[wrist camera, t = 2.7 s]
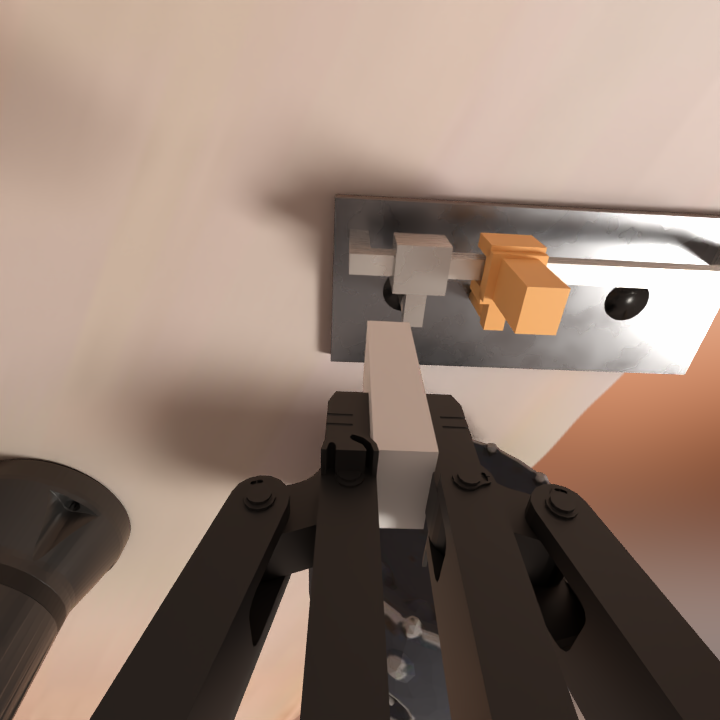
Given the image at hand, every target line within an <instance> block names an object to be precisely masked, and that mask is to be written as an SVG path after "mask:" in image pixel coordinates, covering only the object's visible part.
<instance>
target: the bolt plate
mask: <svg viewBox="0 0 720 720" xmlns="http://www.w3.org/2000/svg"><path fill="white" fill-rule="evenodd" d="M350 229H359V230H368V231H369V239H370V246H371V248H380V249H392V245H393V234H394V232H396V233H416V234H435V235H445V236H446V237H447V239H448V241H449V242H450V244H451V245H452V247H453V251H452V252H461V253H481V254H484V253H483V252H482V251H481V249H480V248H479V247H478V244H479V238H480V233H499V234H518V235H532V236H533V237H534V238H536V239H537V240H538V241H539V242H541V243H542V244H543V245H544V246H545V247H547V251H546V254H547V255H548V256H549V257H562V258H582V259H602V260H622V261H643V262H663V263H683V264H703V265H710V264H711V262H712V260H713V258H714V256H715V254H716V252H717V250H718V248H720V215H703V214H685V213H667V212H649V211H631V210H613V209H594V208H576V207H558V206H540V205H522V204H503V203H485V202H467V201H449V200H431V199H412V198H394V197H376V196H358V195H340V194H336V195H335V224H334V262H333V299H332V337H331V361H337V362H363V363H364V361H365V347H366V333H367V321H388V322H401V314H402V310H401V306H400V301H399V297H398V294H392V289H391V284H390V279H389V276H373V275H352V274H349V237H350ZM470 284H471V280H459V279H448V281H447V287H446V293H445V296H433V295H427V297H426V304H425V311H424V318H423V325H422V327H411V331H412V336H413V340H414V345H415V349H416V353H417V358H418V362H419V365H443V366H470V367H496V368H523V369H550V370H576V371H603V372H629V373H630V372H631V373H657V374H683V375H684V374H685V373H686V371H687V369H688V367H689V365H690V363H691V361H692V359H693V358H694V356H695V354H696V352H697V350H698V348H699V346H700V344H701V342H702V340H703V338H704V336H705V334H706V333H707V331H708V329H709V327H710V325H711V323H712V321H713V319H714V317H715V315H716V313H717V311H718V309H719V307H720V292H716V291H694V290H673V289H651V288H630V287H609V286H587V285H567V286H568V287H569V288H571V290H570V293H569V296H568V299H567V302H566V305H565V308H564V312H563V315H562V318H561V321H560V324H559V327H558V330H557V333H556V335H535V334H515V333H514V331H513V330H512V328H511V327H510V325H509V324H508V322H507V321H506V320H505V324H504V328H503V331H499V330H483V328H482V326H481V324H480V317H479V315H478V313H477V312H476V310H475V308H474V306H473V305H472V303H471V301H470V299H469V294H470V292H471V289H470Z"/></svg>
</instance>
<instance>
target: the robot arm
mask: <svg viewBox="0 0 720 720" xmlns="http://www.w3.org/2000/svg"><path fill="white" fill-rule="evenodd" d="M425 518H426V521H427V527H428V536H427V540H426V545H425V550H424V555H423V560H422V567H426V566H427V561H428V566H429V573H430V579H431V586H432V593H433V600H434V606H435V613H436V620H437V627H438V633H439V640H440V647H441V654H442V660H443V667H444V674H445V681H446V687H447V694H448V701H449V708H450V714H451V720H579V719H578V716H577V714H576V711H575V708H574V705H573V702H572V699H571V696H570V693H569V691H570V692H571V694H572V696H573V698H574V700H575V701H576V703H577V705H578V707H579V709H580V711H581V712H582V714H583V716H584V718H585V720H720V661H719V660H718V658H717V657H716V656H715V655H714V654H713V653H712V651H711V650H710V649H709V648H708V647H707V645H706V644H705V643H704V642H703V641H702V639H701V638H700V637H699V636H698V635H697V633H696V632H695V631H694V630H693V629H692V628H691V626H690V625H689V624H688V623H687V622H686V620H685V619H684V618H683V617H682V616H681V614H680V613H679V612H678V611H677V610H676V608H675V607H674V606H673V605H672V604H671V602H670V601H669V600H668V599H667V598H666V597H665V595H664V594H663V593H662V592H661V591H660V589H659V588H658V587H657V586H656V585H655V583H654V582H653V581H652V580H651V579H650V577H649V576H648V575H647V574H646V573H645V572H644V570H643V569H642V568H641V567H640V566H639V564H638V563H637V562H636V561H635V560H634V558H633V557H632V556H631V555H630V554H629V553H628V551H627V550H626V549H625V548H624V547H623V545H622V544H621V543H620V542H619V541H618V539H617V538H616V537H615V536H614V535H613V534H612V532H611V531H610V530H609V529H608V527H607V526H606V525H605V524H604V523H603V522H602V520H601V519H600V518H599V517H598V516H597V515H596V513H595V512H594V511H593V510H592V508H591V507H590V506H589V505H588V504H587V503H586V501H584V500H583V499H582V498H581V497H580V496H579V495H578V494H577V493H575V492H573V491H571V490H570V489H568V488H566V487H563V486H559V485H555V484H543V485H541V486H538V487H536V488H535V489H534V491H533V492H532V493H531V495H530V494H527V493H523V492H520V491H516V490H513V489H510V488H507V487H504V486H502V485H500V484H498V483H497V482H496V481H495V479H494V478H493V476H492V474H491V473H490V472H489V471H488V470H487V469H485V468H484V467H483V466H481V465H480V462H479V459H478V456H477V453H476V450H475V447H474V444H473V440H472V437H471V434H470V431H469V429H468V425H467V422H466V420H465V416H464V413H463V410H462V407H461V405H460V404H459V403H458V402H457V401H456V400H455V399H454V398H453V397H452V395H440V394H426V393H425V389H424V384H423V380H422V376H421V371H420V367H419V362H418V358H417V353H416V349H415V345H414V340H413V336H412V331H411V327H410V322H388V321H367V333H366V347H365V361H364V375H363V392H340V391H336V392H335V393H334V395H333V396H332V397H331V398H330V400H329V401H328V411H327V422H326V434H325V441H324V443H323V446H322V448H321V468H320V469H319V471H318V472H317V473H316V474H315V475H314V476H313V477H311V478H309V479H307V480H305V481H302V482H299V483H296V484H292V485H287V486H286V485H285V484H284V483H283V482H282V481H281V480H279V479H277V478H274V477H272V476H256V477H252V478H248V479H246V480H245V481H243V482H241V483H239V484H238V485H237V486H236V487H235V489H234V490H233V491H232V492H231V494H230V495H229V497H228V498H227V500H226V502H225V503H224V505H223V506H222V508H221V510H220V511H219V513H218V514H217V516H216V518H215V519H214V521H213V522H212V524H211V526H210V527H209V529H208V530H207V532H206V534H205V535H204V537H203V539H202V540H201V542H200V543H199V545H198V547H197V548H196V550H195V551H194V553H193V555H192V556H191V558H190V559H189V561H188V563H187V564H186V566H185V567H184V569H183V571H182V572H181V574H180V575H179V577H178V579H177V580H176V582H175V583H174V585H173V587H172V588H171V590H170V591H169V593H168V595H167V596H166V598H165V599H164V601H163V603H162V604H161V606H160V607H159V609H158V611H157V612H156V614H155V615H154V617H153V619H152V620H151V622H150V623H149V625H148V627H147V628H146V630H145V631H144V633H143V635H142V636H141V638H140V640H139V641H138V643H137V644H136V646H135V648H134V649H133V651H132V652H131V654H130V656H129V657H128V659H127V660H126V662H125V664H124V665H123V667H122V668H121V670H120V672H119V673H118V675H117V676H116V678H115V680H114V681H113V683H112V684H111V686H110V688H109V689H108V691H107V692H106V694H105V696H104V697H103V699H102V700H101V702H100V704H99V705H98V707H97V708H96V710H95V712H94V713H93V715H92V716H91V718H90V720H234V719H235V716H236V714H237V711H238V708H239V706H240V703H241V701H242V698H243V696H244V693H245V691H246V688H247V686H248V683H249V681H250V678H251V675H252V673H253V670H254V668H255V665H256V663H257V660H258V658H259V655H260V653H261V650H262V647H263V645H264V642H265V640H266V637H267V635H268V632H269V630H270V627H271V625H272V622H273V620H274V617H275V614H276V612H277V609H278V607H279V604H280V602H281V599H282V597H283V594H284V592H285V589H286V586H287V584H288V581H289V579H290V576H291V574H292V573H295V572H298V571H302V570H305V569H308V568H312V567H313V573H312V584H311V596H310V608H309V620H308V631H307V643H306V655H305V667H304V679H303V690H302V702H301V714H300V720H390V705H389V688H388V670H387V653H386V635H385V617H384V600H383V582H382V565H381V547H380V530H379V528H399V529H423V528H424V523H425ZM130 530H131V525H130V520H129V517H128V514H127V512H126V510H125V508H124V507H123V505H122V504H121V502H120V501H119V500H118V499H117V498H116V497H115V496H114V495H113V494H112V493H111V492H110V491H109V490H108V489H106V488H105V487H104V486H103V485H101V484H100V483H98V482H97V481H95V480H93V479H92V478H90V477H88V476H86V475H84V474H82V473H80V472H78V471H75V470H73V469H70V468H67V467H64V466H61V465H58V464H54V463H49V462H44V461H38V460H25V459H17V460H5V461H0V720H13V718H14V716H15V714H16V712H17V710H18V708H19V706H20V704H21V703H22V701H23V699H24V697H25V695H26V693H27V691H28V689H29V687H30V686H31V684H32V682H33V680H34V678H35V676H36V674H37V672H38V670H39V668H40V667H41V665H42V663H43V661H44V659H45V657H46V655H47V653H48V651H49V649H50V648H51V646H52V644H53V642H54V640H55V638H56V636H57V634H58V632H59V630H60V628H61V626H62V625H63V623H64V621H65V619H66V617H67V616H68V614H69V612H70V611H71V610H72V609H73V608H74V607H75V606H76V605H77V604H78V602H79V601H80V600H81V599H82V598H83V597H84V596H85V595H86V594H87V593H88V592H89V591H90V590H91V589H92V588H93V587H94V586H95V584H96V583H97V582H98V581H99V580H100V579H101V578H102V577H103V576H104V574H105V573H106V572H107V571H109V570H110V569H111V568H112V567H113V566H114V564H115V563H116V562H117V560H118V559H119V557H120V555H121V553H122V551H123V549H124V547H125V545H126V543H127V541H128V539H129V536H130ZM567 687H568V688H567ZM568 689H569V691H568Z"/></svg>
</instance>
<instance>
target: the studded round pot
mask: <svg viewBox="0 0 720 720" xmlns="http://www.w3.org/2000/svg"><path fill="white" fill-rule="evenodd" d="M473 444H474V447H475V450H476V453H477V456H478V459H479V462H480V465H481V466H483V467H484V468H485V469H487V470H488V471H489V472H490V473H491V474H492V476H493V478H494V479H495V481H496V482H497V483H498V484H500V485H502V486H504V487H507V488H510V489H513V490H516V491H520V492H523V493H527V494H530V495H531V493H532V492H533V491H534V489H535V488H536V487H538V486H541V485H543V484H550V483H549V481H548V478H547V476H546V475H545V474H543V473H541V472H536V471H535V470H533V469H532V468H530V467H529V466H528V465H526V464H525V463H523V462H522V461H520V460H519V459H517V458H515V457H513V456H511V455H509V454H507V453H505V452H504V451H502V450H500V449H499V448H498V447H497V446H496V444H493V443H488V444H485V443H482V442H479V441H475V440H473ZM379 530H380V547H381V565H382V582H383V600H384V617H385V635H386V653H387V670H388V688H389V705H390V720H451V714H450V708H449V701H448V694H447V687H446V681H445V674H444V667H443V660H442V654H441V647H440V640H439V633H438V627H437V620H436V613H435V606H434V600H433V593H432V586H431V579H430V573H429V566H428V561H427V566H426V567H422V560H423V555H424V550H425V545H426V540H427V536H428V527H427V521H426V518H425V523H424V528H423V529H399V528H379ZM312 573H313V567H312V568H309V595H310V596H311V584H312ZM567 688H568V687H567ZM568 691H569V689H568Z"/></svg>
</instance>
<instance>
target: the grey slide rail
mask: <svg viewBox="0 0 720 720" xmlns="http://www.w3.org/2000/svg"><path fill="white" fill-rule="evenodd" d="M452 251H453V247H452V245H451V244H450V242H449V241H448V239H447V237H446V236H445V235H435V234H416V233H396V232H394V234H393V245H392V249H380V248H371V246H370V239H369V231H368V230H359V229H350V237H349V274H352V275H373V276H389V279H390V284H391V289H392V294H398V297H399V301H400V306H401V310H402V314H401V322H410V327H422V325H423V318H424V311H425V304H426V297H427V295H433V296H445V293H446V287H447V281H448V279H459V280H480V281H481V280H482V276H483V271H484V266H485V261H486V256H485V254H481V253H461V252H452ZM546 267H548V268H549V269H550V270H551V271H552V272H553V273H554V274H555V275H556V276H557V277H559V278H560V279H561V280H562V281H563V282H564V283H565V284H566V285H587V286H609V287H630V288H651V289H673V290H694V291H716V292H720V248H718V250H717V252H716V254H715V256H714V258H713V260H712V262H711V264H710V265H703V264H683V263H663V262H643V261H622V260H602V259H582V258H562V257H549V259H548V263H547V266H546Z"/></svg>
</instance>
